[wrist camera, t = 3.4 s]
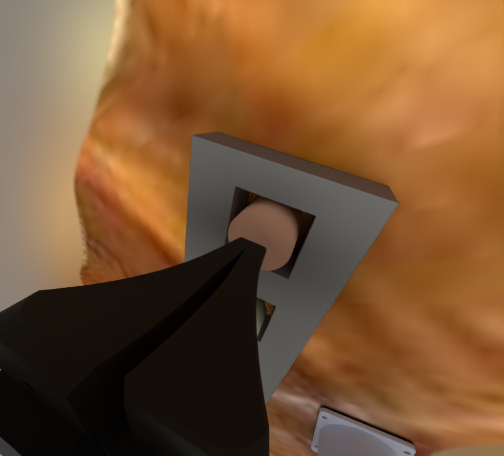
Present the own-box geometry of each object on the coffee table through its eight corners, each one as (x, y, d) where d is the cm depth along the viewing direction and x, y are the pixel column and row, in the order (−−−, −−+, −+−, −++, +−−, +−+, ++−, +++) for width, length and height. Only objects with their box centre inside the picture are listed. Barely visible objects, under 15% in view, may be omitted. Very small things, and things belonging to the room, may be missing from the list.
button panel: (272, 378, 22) (265, 405, 20) (192, 333, 24) (178, 353, 22) (389, 186, 11) (399, 203, 9) (216, 132, 13) (192, 135, 11)
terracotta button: (291, 251, 14) (280, 280, 12) (243, 231, 15) (223, 254, 12) (311, 204, 12) (302, 227, 10) (255, 184, 13) (234, 200, 11)
